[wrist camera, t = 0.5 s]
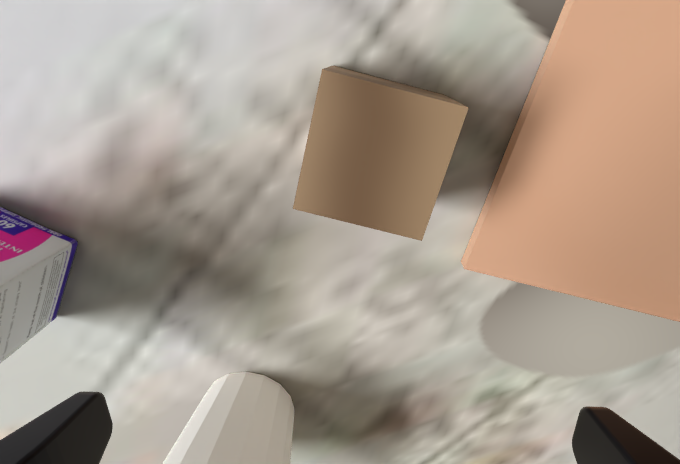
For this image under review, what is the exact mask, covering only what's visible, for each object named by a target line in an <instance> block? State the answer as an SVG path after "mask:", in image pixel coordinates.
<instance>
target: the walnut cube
mask: <svg viewBox="0 0 680 464" xmlns="http://www.w3.org/2000/svg"><path fill="white" fill-rule="evenodd" d="M468 108H469V107H467V106H465V105H463V104H461V103H459V102H457V101H455V100H453V99H451V98H449V97H447V96H445V95H443V94H439V93H435V92H432V91H428V90H424V89H420V88H416V87H413V86H409V85H405V84H401V83H397V82H394V81H390V80H386V79H382V78H378V77H375V76H371V75H367V74H363V73H359V72H355V71H352V70H348V69H344V68H340V67H336V66H330V67H327V68H324V69H322V73H321V77H320V82H319V87H318V92H317V96H316V101H315V106H314V111H313V115H312V120H311V125H310V130H309V134H308V139H307V144H306V149H305V153H304V158H303V163H302V168H301V172H300V177H299V182H298V187H297V191H296V196H295V201H294V206H293V209H296V210H300V211H304V212H308V213H312V214H316V215H320V216H324V217H328V218H332V219H336V220H340V221H344V222H348V223H352V224H356V225H361V226H365V227H369V228H373V229H377V230H381V231H385V232H389V233H393V234H397V235H401V236H405V237H409V238H413V239H417V240H421V241H422V239H423V236H424V233H425V230H426V227H427V225H428V222H429V219H430V216H431V213H432V210H433V208H434V205H435V202H436V199H437V196H438V193H439V191H440V188H441V185H442V182H443V179H444V176H445V174H446V171H447V168H448V165H449V162H450V159H451V157H452V154H453V151H454V148H455V145H456V142H457V140H458V137H459V134H460V131H461V128H462V125H463V123H464V120H465V117H466V114H467V111H468Z"/></svg>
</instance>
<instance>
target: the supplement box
mask: <svg viewBox="0 0 680 464" xmlns="http://www.w3.org/2000/svg"><path fill="white" fill-rule="evenodd" d="M77 245H78V243H77V241H76V240H75V239H73V238H70V237H68V236H65V235H63V234H60V233H58V232H55V231H53V230H50V229H48V228H46V227H43V226H41V225H39V224H37V223H35V222H32V221H30V220H28V219H26V218H24V217H21V216H19V215H17V214H15V213H13V212H11V211H8V210H6V209H4V208H2V207H0V363H1V362H3V361H4V360H5V359H6V358H8V357H9V356H10V355H11V354H12V353H14V352H15V351H16V350H17V349H19V348H20V347H21V346H22V345H23V344H25V343H26V342H27V341H28V340H30V339H31V338H32V337H33V336H34V335H36V334H37V333H38V332H40V331H41V330H42V329H43V328H44V327H46V326H47V325H48V324H49V323H50V322H51V321H53V320H54V319H55V318H56V317H57V314H58V312H59V308H60V304H61V301H62V297H63V293H64V290H65V286H66V282H67V279H68V276H69V272H70V269H71V266H72V263H73V259H74V256H75V252H76V248H77Z"/></svg>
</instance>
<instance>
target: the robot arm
mask: <svg viewBox="0 0 680 464" xmlns="http://www.w3.org/2000/svg"><path fill="white" fill-rule="evenodd" d="M111 433H112V420H111V417H110V413H109V410H108V406H107V403H106V400H105V397H104V395H103V394H102V393H100V392H79V393H76V394H75V395H73V396H71V397H70V398H68V399H66V400H65V401H63V402H62V403H60V404H58V405H57V406H55V407H53V408H52V409H50V410H49V411H47V412H45V413H44V414H42V415H40V416H39V417H37V418H36V419H34V420H32V421H31V422H29V423H28V424H26V425H24V426H23V427H21V428H19V429H18V430H16V431H15V432H13V433H11V434H10V435H8V436H6V437H5V438H3V439H2V440H0V464H99V463H100V460H101V458H102V456H103V453H104V451H105V449H106V446H107V444H108V442H109V439H110V437H111ZM572 448H573V452H574V455H575V458H576V461H577V464H680V460H679V459H678V458H676V457H675V456H674V455H672V454H671V453H670V452H668V451H667V450H665V449H664V448H663V447H661V446H660V445H659V444H657V443H656V442H654V441H653V440H652V439H650V438H649V437H648V436H646V435H645V434H643V433H642V432H641V431H639V430H638V429H637V428H635V427H634V426H632V425H631V424H630V423H628V422H627V421H625V420H624V419H623V418H621V417H620V416H619V415H617V414H616V413H614V412H613V411H612V410H610V409H608V408H605V407H583V408H582V409H581V410H580V413H579V416H578V420H577V423H576V427H575V431H574V434H573V438H572Z"/></svg>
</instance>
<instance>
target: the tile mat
mask: <svg viewBox="0 0 680 464" xmlns="http://www.w3.org/2000/svg"><path fill="white" fill-rule="evenodd" d="M461 263H462V265H463V267H464V269H467V270H471V271H475V272H479V273H483V274H487V275H491V276H495V277H499V278H504V279H508V280H512V281H516V282H520V283H524V284H528V285H532V286H537V287H540V288H544V289H548V290H552V291H557V292H560V293H565V294H569V295H573V296H577V297H581V298H585V299H589V300H593V301H597V302H601V303H605V304H609V305H613V306H618V307H621V308H626V309H630V310H634V311H638V312H642V313H646V314H650V315H655V316H658V317H663V318H667V319H671V320H674V321H679V322H680V0H566V2H565V4H564V7H563V9H562V12H561V14H560V17H559V19H558V22H557V24H556V27H555V29H554V31H553V34H552V36H551V39H550V41H549V44H548V46H547V49H546V51H545V54H544V56H543V59H542V61H541V64H540V66H539V69H538V71H537V74H536V76H535V79H534V81H533V84H532V86H531V89H530V91H529V94H528V96H527V99H526V101H525V104H524V106H523V109H522V111H521V114H520V116H519V119H518V121H517V124H516V126H515V128H514V131H513V133H512V136H511V138H510V141H509V143H508V146H507V148H506V151H505V153H504V156H503V158H502V161H501V163H500V166H499V168H498V171H497V173H496V176H495V178H494V181H493V183H492V186H491V188H490V191H489V193H488V196H487V198H486V201H485V203H484V206H483V208H482V211H481V213H480V216H479V218H478V221H477V223H476V226H475V228H474V231H473V233H472V236H471V238H470V240H469V243H468V245H467V248H466V250H465V253H464V255H463V258H462V260H461Z"/></svg>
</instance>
